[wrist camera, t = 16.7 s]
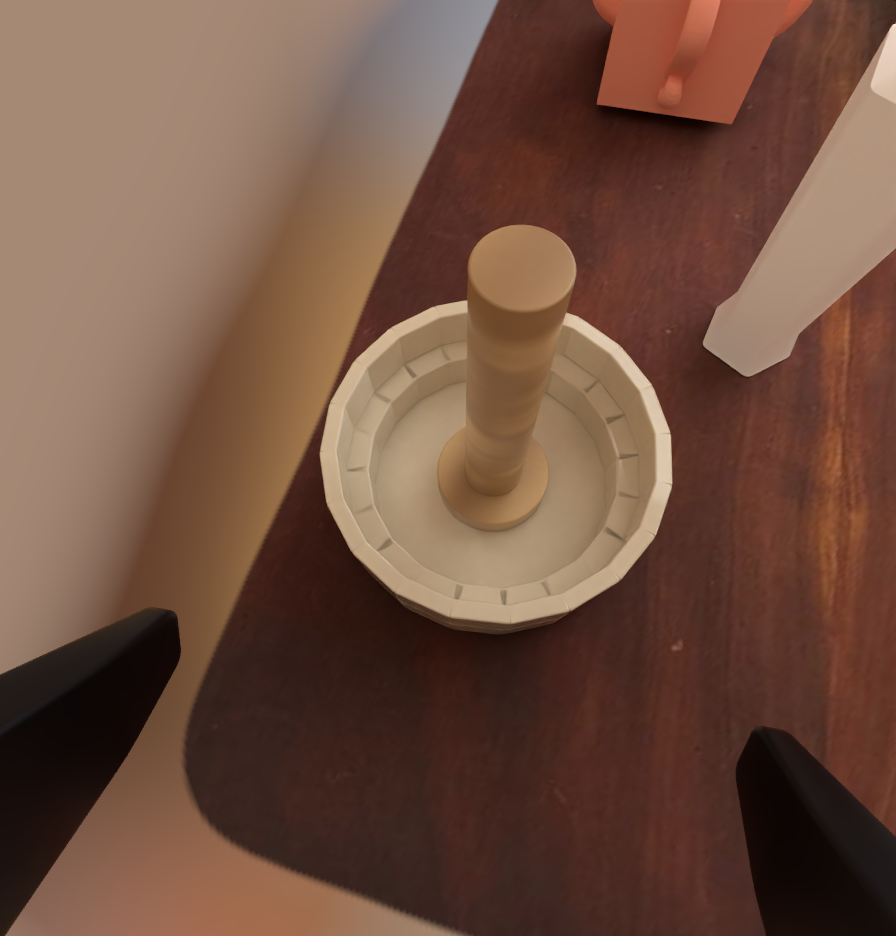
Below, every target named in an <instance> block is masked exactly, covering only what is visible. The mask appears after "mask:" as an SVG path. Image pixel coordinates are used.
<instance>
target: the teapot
mask: <svg viewBox="0 0 896 936" xmlns="http://www.w3.org/2000/svg"><path fill="white" fill-rule="evenodd" d="M592 1H593V3H594V6H595V8H596V10H597V11H598V13H599V14H600V15H601V17H602V18H603V19H604V20H605V21H607V22H608V23H609V24H611V25H612V26H613V30H612V35H611V39H610V44H609V49H608V53H607V58H606V62H605V67H604V72H603V76H602V81H601V86H600V90H599V95H598V99H597V104H599V105H605V106H612V107H619V108H625V109H632V110H639V111H646V112H652V113H659V114H665V115H672V116H679V117H686V118H692V119H699V120H706V121H712V122H719V123H726V124H732V123H733V121H734V119H735V117H736V114H737V112H738V110H739V108H740V106H741V104H742V102H743V100H744V98H745V96H746V94H747V92H748V89H749V87H750V85H751V83H752V81H753V79H754V77H755V75H756V73H757V71H758V69H759V67H760V64H761V62H762V60H763V58H764V56H765V54H766V52H767V50H768V48H769V46H770V44H771V42H772V39H773V38H774V37H776V36H778V35H779V34H781V33H782V32H784V31H785V30H786V29H787V28H789V27H790V26H791V25H792V24H793V23H794V22H795V21H796V20H797V19H798V18H799V17H800V16H801V15H802V14H803V13H804V11H805V10H806V9H807V8H808V6H809V5H810V4H811V3H812V1H813V0H592Z"/></svg>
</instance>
